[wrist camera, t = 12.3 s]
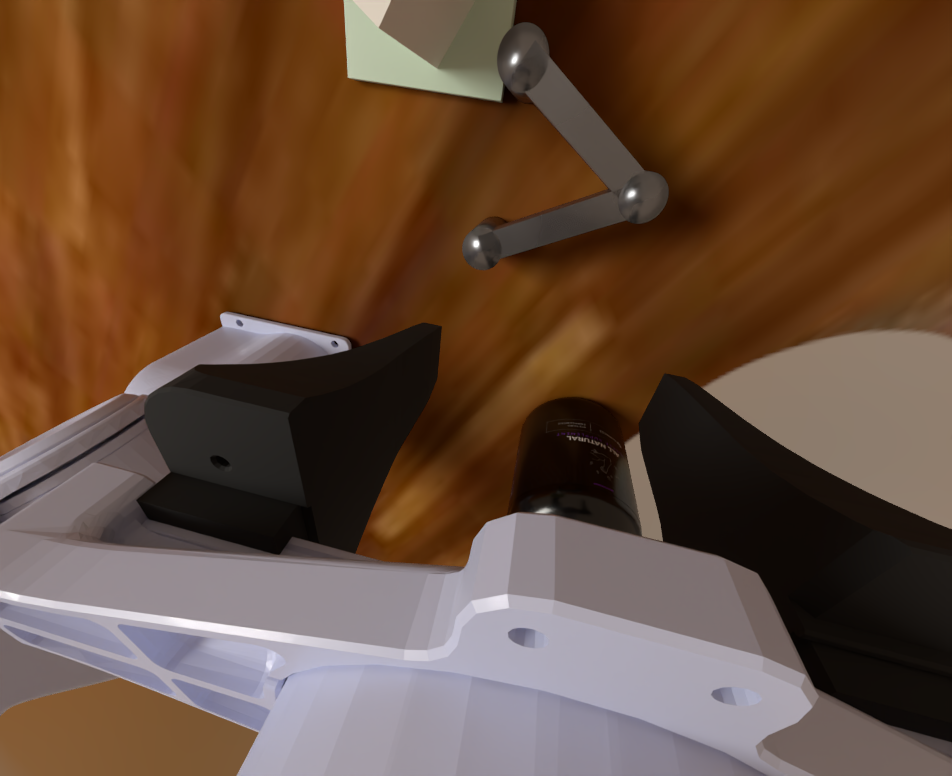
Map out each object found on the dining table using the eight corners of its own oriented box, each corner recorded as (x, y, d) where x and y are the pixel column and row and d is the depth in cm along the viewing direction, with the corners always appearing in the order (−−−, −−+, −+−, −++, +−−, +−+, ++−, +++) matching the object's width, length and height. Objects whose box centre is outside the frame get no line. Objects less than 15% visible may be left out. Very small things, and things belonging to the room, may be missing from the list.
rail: (475, 249, 20) (460, 266, 17) (501, 43, 15) (487, 16, 12) (618, 276, 19) (628, 298, 16) (692, 70, 14) (726, 49, 11)
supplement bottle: (612, 384, 22) (654, 565, 13) (626, 463, 26) (669, 656, 16) (508, 402, 25) (474, 567, 15) (533, 472, 28) (519, 647, 18)
